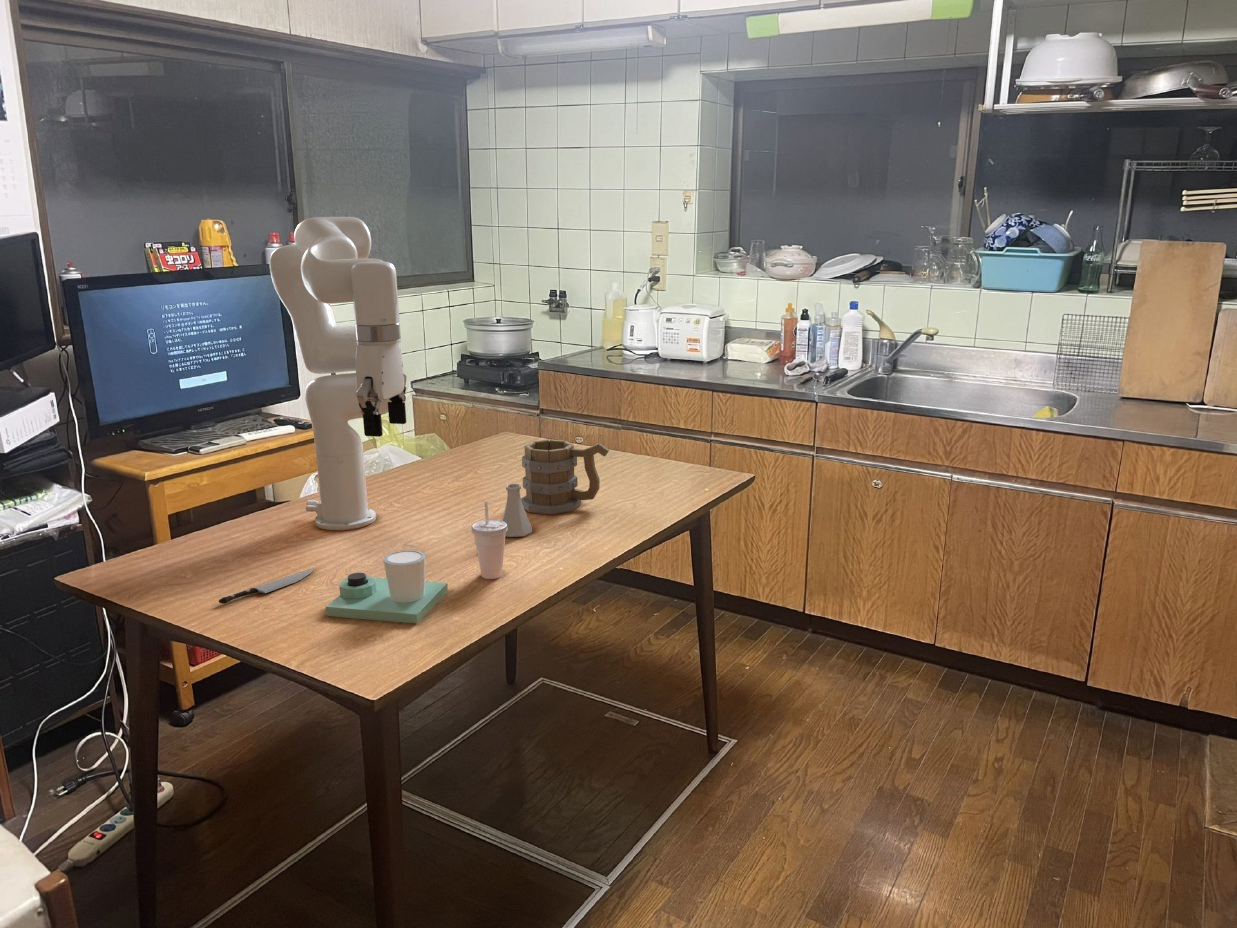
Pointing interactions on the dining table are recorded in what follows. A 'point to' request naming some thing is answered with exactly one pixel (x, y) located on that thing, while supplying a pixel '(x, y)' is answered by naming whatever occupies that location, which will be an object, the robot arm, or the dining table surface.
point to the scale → (383, 602)
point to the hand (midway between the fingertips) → (386, 429)
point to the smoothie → (490, 545)
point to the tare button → (357, 579)
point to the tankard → (557, 476)
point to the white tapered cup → (405, 575)
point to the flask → (515, 513)
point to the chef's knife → (268, 586)
